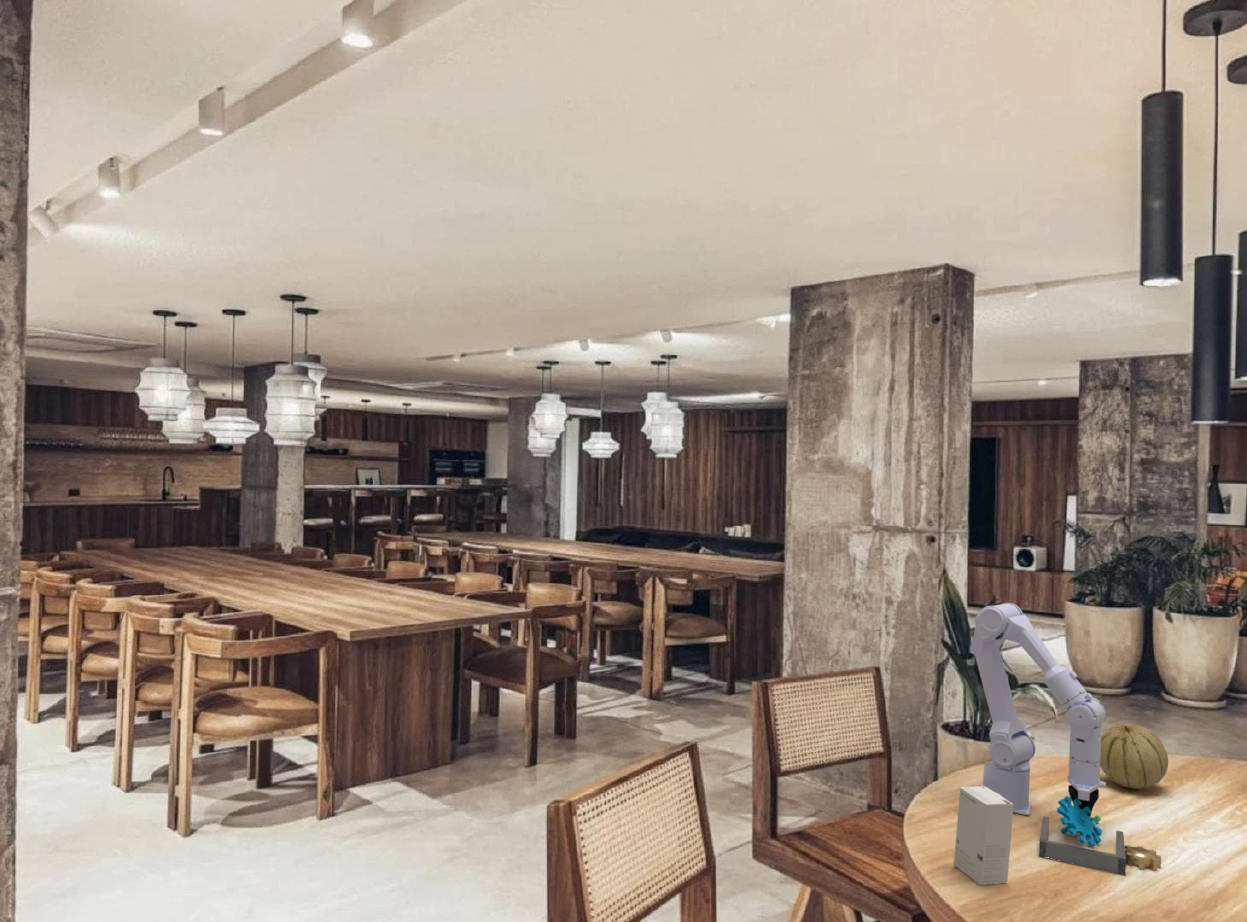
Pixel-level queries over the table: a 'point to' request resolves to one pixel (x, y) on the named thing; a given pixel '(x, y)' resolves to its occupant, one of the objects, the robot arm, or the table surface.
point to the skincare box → (983, 835)
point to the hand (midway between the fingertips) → (1082, 823)
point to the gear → (1079, 821)
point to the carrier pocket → (1098, 854)
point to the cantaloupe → (1133, 756)
